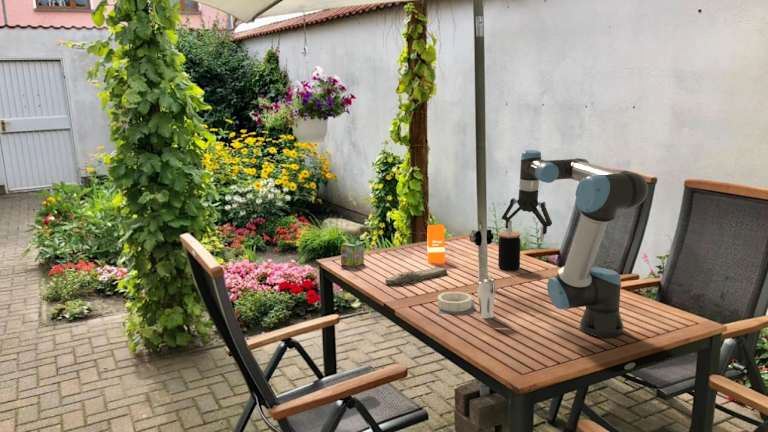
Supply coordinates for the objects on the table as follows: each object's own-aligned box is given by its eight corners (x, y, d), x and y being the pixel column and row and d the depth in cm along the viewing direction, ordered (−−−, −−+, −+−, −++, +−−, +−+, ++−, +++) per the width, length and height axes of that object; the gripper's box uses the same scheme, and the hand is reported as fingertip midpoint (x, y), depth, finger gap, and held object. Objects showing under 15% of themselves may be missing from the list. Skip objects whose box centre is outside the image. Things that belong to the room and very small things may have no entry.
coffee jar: (522, 267, 305) (523, 232, 301) (515, 272, 296) (515, 237, 292) (502, 264, 310) (503, 230, 307) (495, 269, 302) (495, 235, 298)
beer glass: (491, 321, 233) (491, 284, 230) (474, 318, 236) (474, 282, 233) (497, 315, 238) (498, 279, 235) (481, 313, 242) (481, 277, 239)
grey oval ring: (473, 315, 239) (473, 314, 239) (438, 314, 241) (438, 313, 241) (474, 300, 256) (474, 299, 256) (441, 300, 259) (441, 298, 259)
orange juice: (444, 262, 317) (444, 226, 313) (428, 263, 317) (427, 226, 313) (443, 258, 325) (443, 223, 321) (427, 259, 325) (426, 223, 321)
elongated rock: (452, 278, 295) (440, 274, 304) (452, 267, 295) (440, 264, 303) (392, 287, 277) (381, 283, 286) (392, 276, 277) (381, 272, 285)
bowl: (471, 312, 241) (471, 303, 240) (436, 311, 243) (436, 302, 242) (471, 301, 255) (471, 292, 254) (439, 300, 257) (438, 291, 256)
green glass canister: (340, 265, 318) (339, 238, 315) (351, 261, 325) (350, 235, 323) (354, 267, 313) (353, 240, 310) (364, 263, 320) (363, 236, 317)
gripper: (562, 190, 236) (557, 240, 243) (501, 183, 248) (498, 231, 254) (557, 194, 230) (553, 246, 236) (495, 187, 242) (493, 236, 248)
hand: (525, 238), depth 245 cm, fingers open, 13 cm apart
